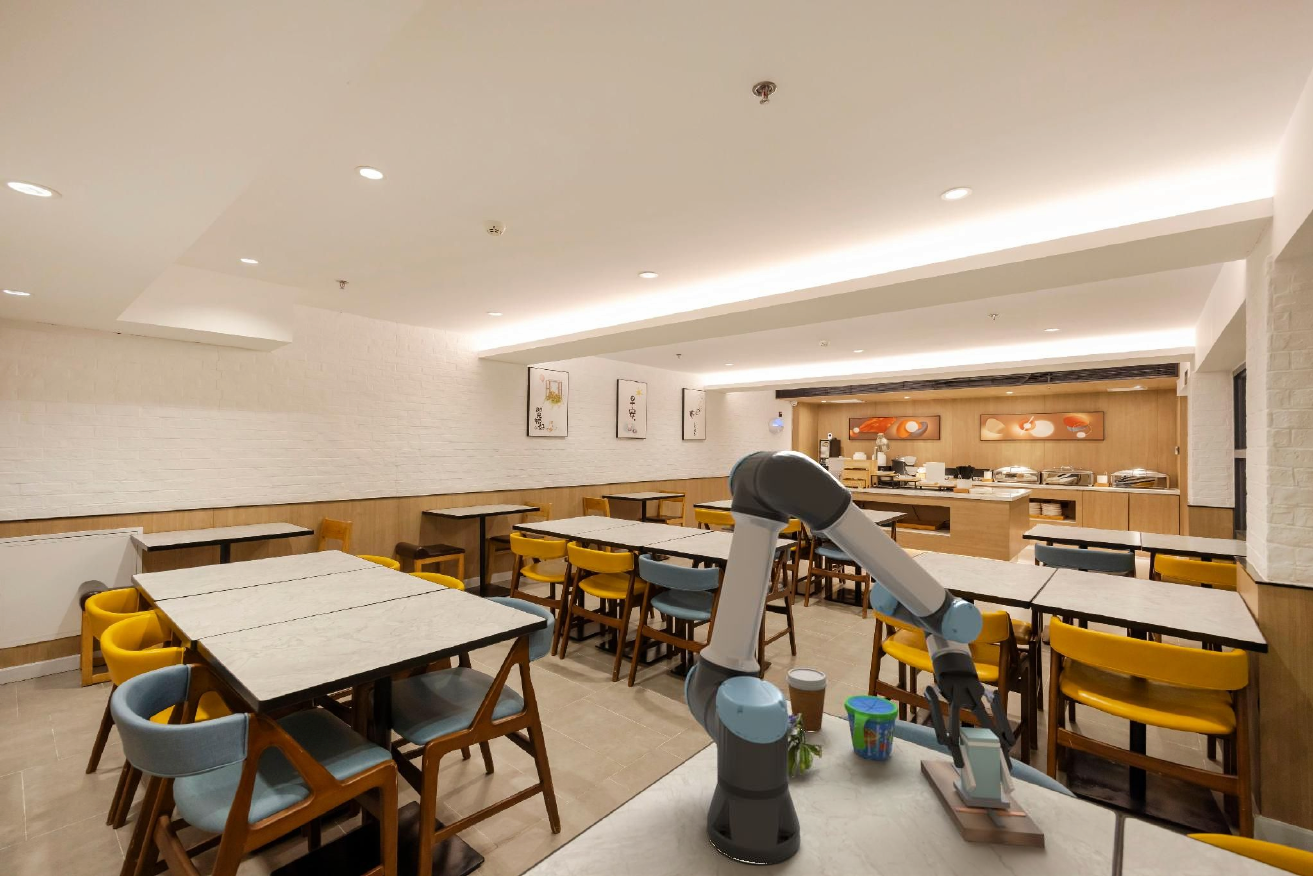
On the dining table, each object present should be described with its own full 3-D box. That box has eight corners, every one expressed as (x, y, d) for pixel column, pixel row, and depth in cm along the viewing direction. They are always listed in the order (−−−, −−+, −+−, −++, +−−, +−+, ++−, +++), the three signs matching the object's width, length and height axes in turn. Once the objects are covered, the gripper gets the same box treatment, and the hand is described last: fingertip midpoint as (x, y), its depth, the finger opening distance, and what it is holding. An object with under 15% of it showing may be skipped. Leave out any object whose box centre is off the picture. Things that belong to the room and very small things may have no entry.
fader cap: (966, 805, 98) (964, 739, 99) (953, 786, 104) (951, 724, 105) (1010, 808, 97) (1008, 742, 98) (994, 789, 103) (992, 726, 104)
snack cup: (865, 733, 131) (864, 687, 131) (911, 749, 123) (910, 700, 124) (830, 756, 120) (829, 707, 120) (879, 776, 112) (878, 722, 113)
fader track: (964, 840, 93) (964, 826, 93) (920, 770, 114) (920, 758, 115) (1044, 847, 91) (1044, 832, 91) (984, 774, 113) (984, 763, 113)
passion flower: (774, 786, 118) (761, 723, 126) (826, 778, 118) (811, 715, 125) (772, 778, 110) (759, 711, 117) (829, 770, 109) (812, 703, 116)
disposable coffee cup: (830, 737, 128) (829, 683, 129) (787, 733, 130) (786, 679, 131) (826, 719, 138) (825, 668, 138) (786, 716, 140) (785, 666, 140)
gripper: (994, 671, 116) (1040, 801, 98) (899, 666, 118) (928, 793, 101) (1006, 652, 111) (1057, 787, 93) (907, 648, 113) (939, 778, 96)
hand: (990, 789), depth 97 cm, fingers open, 5 cm apart
